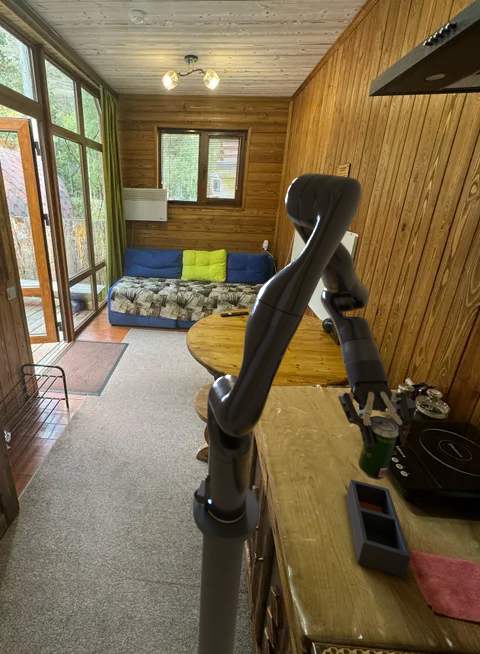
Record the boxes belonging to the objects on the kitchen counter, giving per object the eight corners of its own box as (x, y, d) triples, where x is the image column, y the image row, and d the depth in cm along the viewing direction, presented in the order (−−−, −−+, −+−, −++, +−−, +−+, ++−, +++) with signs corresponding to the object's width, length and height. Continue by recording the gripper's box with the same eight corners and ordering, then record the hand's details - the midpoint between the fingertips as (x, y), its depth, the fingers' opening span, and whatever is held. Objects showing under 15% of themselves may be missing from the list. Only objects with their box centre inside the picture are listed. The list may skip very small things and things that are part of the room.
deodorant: (391, 454, 86) (403, 409, 81) (374, 439, 91) (385, 396, 86) (408, 451, 87) (421, 406, 82) (390, 436, 93) (402, 393, 88)
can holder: (357, 563, 59) (363, 542, 58) (346, 497, 73) (350, 479, 71) (403, 577, 57) (411, 557, 55) (383, 507, 71) (388, 488, 69)
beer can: (392, 474, 64) (405, 428, 61) (376, 485, 62) (389, 436, 58) (367, 456, 69) (379, 412, 65) (352, 465, 67) (362, 419, 63)
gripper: (339, 358, 65) (361, 446, 57) (404, 357, 66) (434, 444, 58) (324, 367, 72) (341, 447, 64) (383, 366, 72) (407, 445, 65)
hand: (385, 445), depth 61 cm, fingers closed on beer can, 5 cm apart
